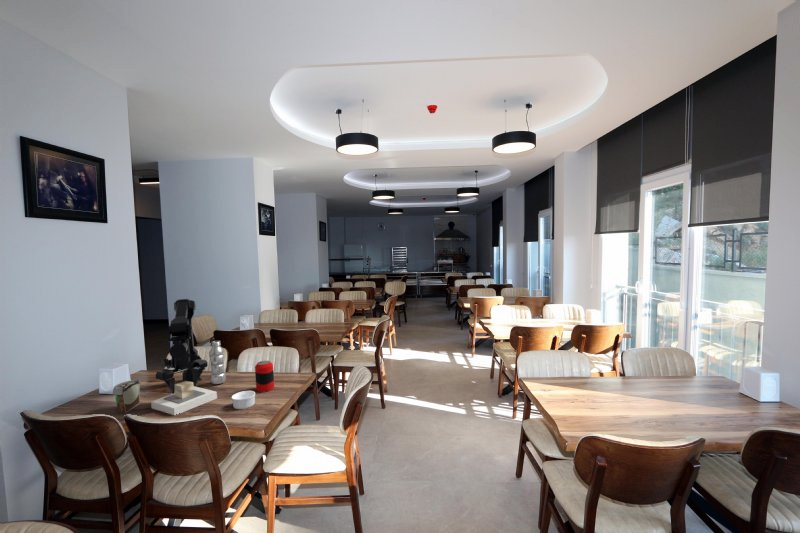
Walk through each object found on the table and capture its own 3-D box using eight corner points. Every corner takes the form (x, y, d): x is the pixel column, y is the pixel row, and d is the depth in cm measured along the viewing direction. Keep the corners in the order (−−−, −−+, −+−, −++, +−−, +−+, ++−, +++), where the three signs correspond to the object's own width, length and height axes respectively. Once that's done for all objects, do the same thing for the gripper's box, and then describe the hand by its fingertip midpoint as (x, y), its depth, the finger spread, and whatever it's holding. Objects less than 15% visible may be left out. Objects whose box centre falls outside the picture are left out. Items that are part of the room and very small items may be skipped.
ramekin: (255, 408, 151) (254, 397, 151) (230, 411, 149) (230, 400, 149) (256, 399, 160) (256, 389, 160) (233, 402, 157) (233, 392, 157)
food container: (126, 403, 161) (124, 379, 161) (141, 402, 162) (140, 378, 161) (106, 416, 149) (104, 390, 149) (123, 414, 150) (121, 389, 149)
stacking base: (194, 392, 171) (193, 385, 170) (217, 398, 163) (216, 390, 163) (151, 408, 155) (151, 400, 155) (174, 415, 147) (174, 407, 147)
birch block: (186, 392, 162) (186, 380, 162) (194, 394, 160) (193, 382, 159) (175, 396, 158) (174, 384, 158) (182, 398, 155) (181, 386, 155)
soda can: (262, 385, 176) (260, 359, 175) (277, 386, 174) (276, 360, 173) (252, 392, 168) (251, 365, 168) (268, 392, 167) (266, 365, 166)
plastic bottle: (207, 385, 179) (204, 342, 178) (219, 380, 185) (216, 339, 184) (217, 386, 177) (214, 343, 176) (229, 381, 183) (226, 340, 182)
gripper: (191, 344, 170) (193, 379, 171) (146, 356, 154) (149, 394, 154) (207, 347, 164) (209, 383, 165) (162, 359, 148) (165, 399, 149)
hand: (184, 389), depth 159 cm, fingers open, 9 cm apart
